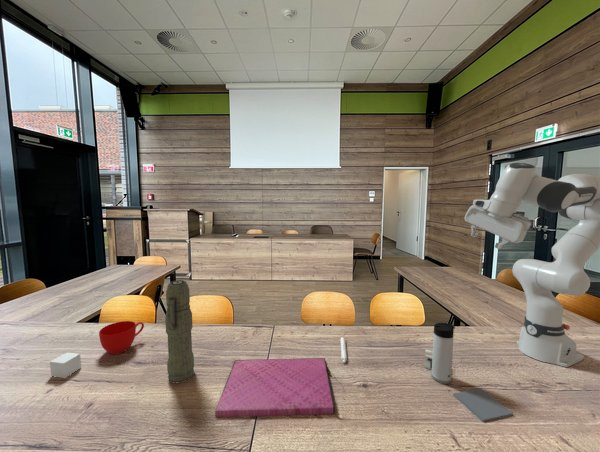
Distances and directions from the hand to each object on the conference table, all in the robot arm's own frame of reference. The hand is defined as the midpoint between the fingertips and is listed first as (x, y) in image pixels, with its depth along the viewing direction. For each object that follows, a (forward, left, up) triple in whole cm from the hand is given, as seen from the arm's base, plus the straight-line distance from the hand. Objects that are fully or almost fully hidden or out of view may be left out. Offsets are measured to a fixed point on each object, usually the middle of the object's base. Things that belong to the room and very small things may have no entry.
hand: (484, 242), depth 101 cm
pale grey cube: (+155, -29, -49) cm, 165 cm away
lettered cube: (+20, -2, -48) cm, 52 cm away
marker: (+49, -19, -49) cm, 72 cm away
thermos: (+113, -18, -48) cm, 124 cm away
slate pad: (+18, +19, -48) cm, 55 cm away
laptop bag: (+77, -4, -49) cm, 92 cm away
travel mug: (+21, +5, -48) cm, 53 cm away
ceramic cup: (+141, -43, -48) cm, 155 cm away
